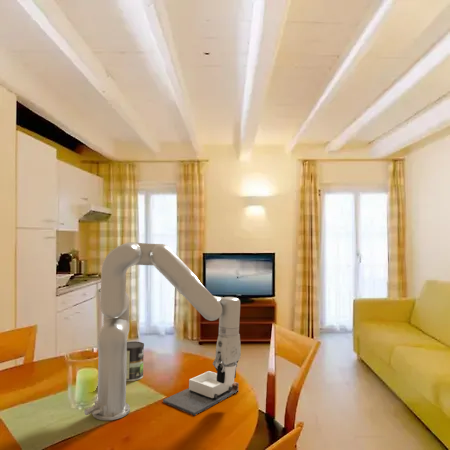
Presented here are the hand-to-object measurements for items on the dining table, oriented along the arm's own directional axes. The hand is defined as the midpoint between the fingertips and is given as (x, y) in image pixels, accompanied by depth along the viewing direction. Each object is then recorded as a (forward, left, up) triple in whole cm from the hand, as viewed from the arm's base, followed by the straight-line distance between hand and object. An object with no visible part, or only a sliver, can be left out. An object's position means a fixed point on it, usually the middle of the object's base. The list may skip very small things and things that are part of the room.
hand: (226, 379), depth 140 cm
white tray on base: (+5, +11, -8) cm, 15 cm away
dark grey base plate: (0, +11, -10) cm, 15 cm away
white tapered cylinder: (0, 0, -1) cm, 1 cm away
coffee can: (-5, +48, -10) cm, 50 cm away
